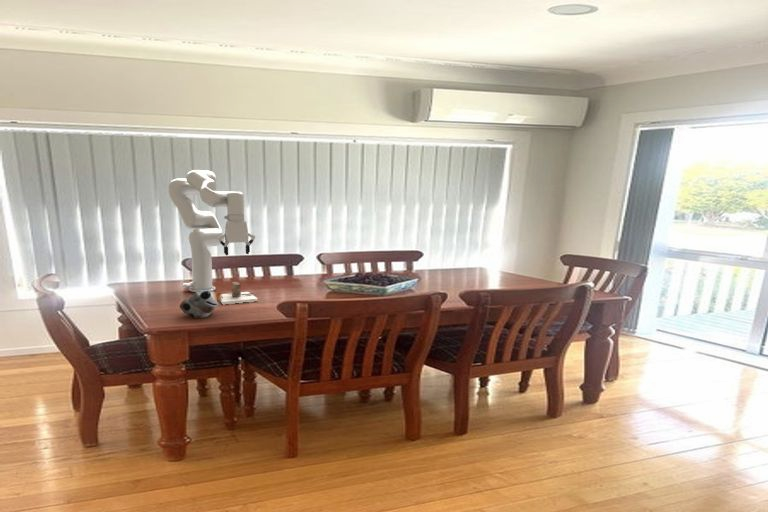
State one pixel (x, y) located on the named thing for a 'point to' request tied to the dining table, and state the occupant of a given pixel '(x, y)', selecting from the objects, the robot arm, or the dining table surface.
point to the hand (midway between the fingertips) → (237, 254)
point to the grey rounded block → (201, 303)
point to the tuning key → (237, 289)
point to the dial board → (238, 298)
